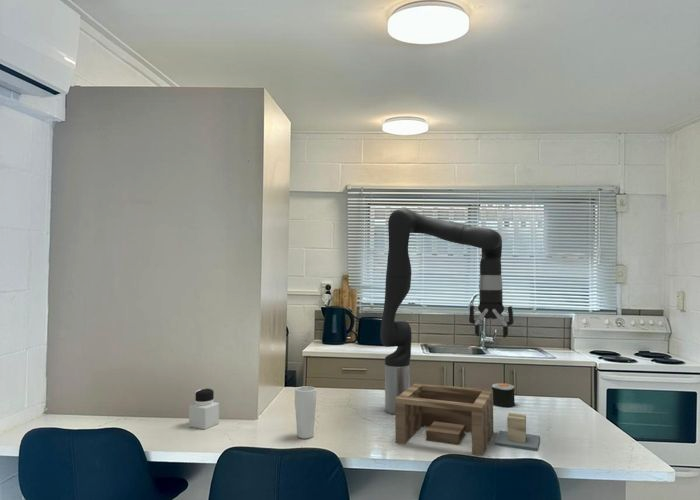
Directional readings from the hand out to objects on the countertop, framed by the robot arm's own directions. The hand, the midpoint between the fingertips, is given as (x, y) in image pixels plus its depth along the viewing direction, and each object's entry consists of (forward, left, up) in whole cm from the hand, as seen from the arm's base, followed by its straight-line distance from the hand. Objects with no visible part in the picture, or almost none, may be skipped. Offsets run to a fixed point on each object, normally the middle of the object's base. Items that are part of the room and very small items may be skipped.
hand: (491, 336), depth 167 cm
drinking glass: (+33, -53, -30) cm, 69 cm away
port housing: (+16, -12, -30) cm, 36 cm away
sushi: (-30, 0, -30) cm, 43 cm away
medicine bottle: (+37, -90, -30) cm, 102 cm away
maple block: (+11, +9, -29) cm, 33 cm away
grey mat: (+11, +9, -30) cm, 33 cm away
